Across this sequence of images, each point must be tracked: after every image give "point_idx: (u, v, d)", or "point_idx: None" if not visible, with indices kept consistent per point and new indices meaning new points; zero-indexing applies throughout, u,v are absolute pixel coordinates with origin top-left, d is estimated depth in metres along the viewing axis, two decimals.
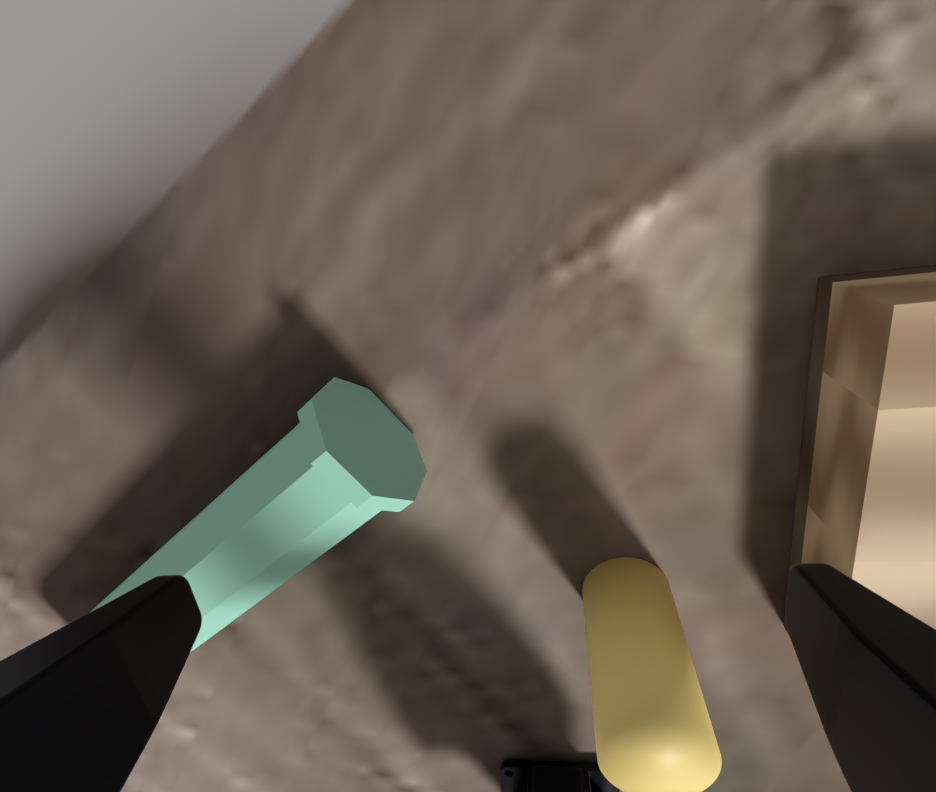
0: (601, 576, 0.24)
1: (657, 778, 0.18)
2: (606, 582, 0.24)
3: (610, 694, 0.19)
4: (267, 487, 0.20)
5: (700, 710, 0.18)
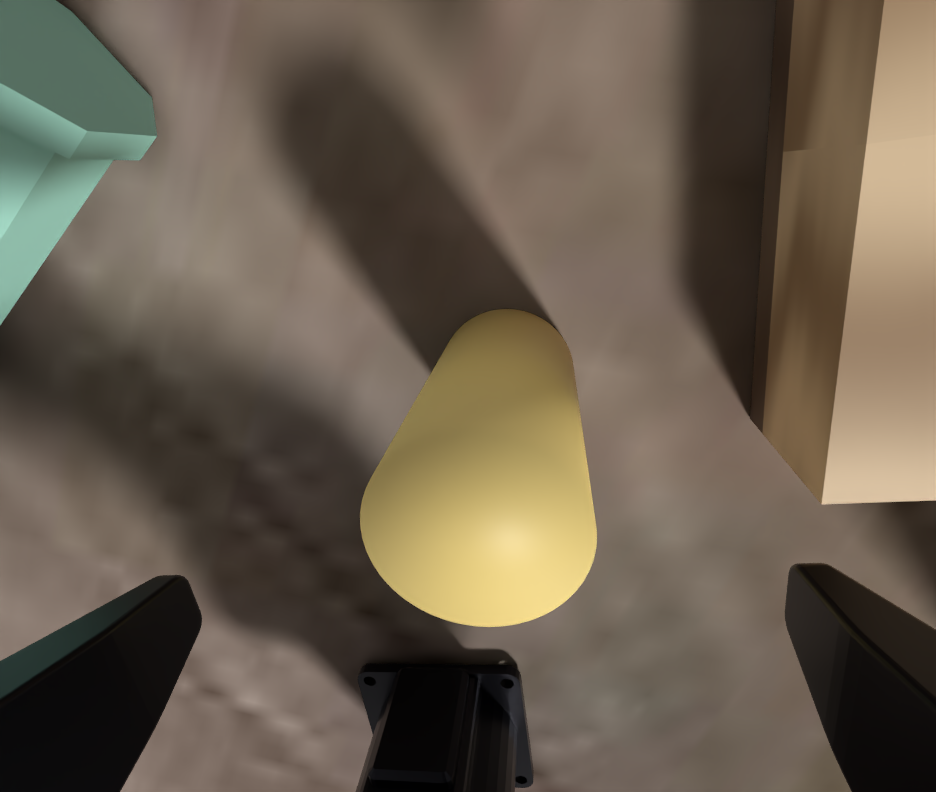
0: (459, 332, 0.15)
1: (479, 577, 0.09)
2: (462, 333, 0.15)
3: (401, 429, 0.10)
4: None
5: (561, 438, 0.09)
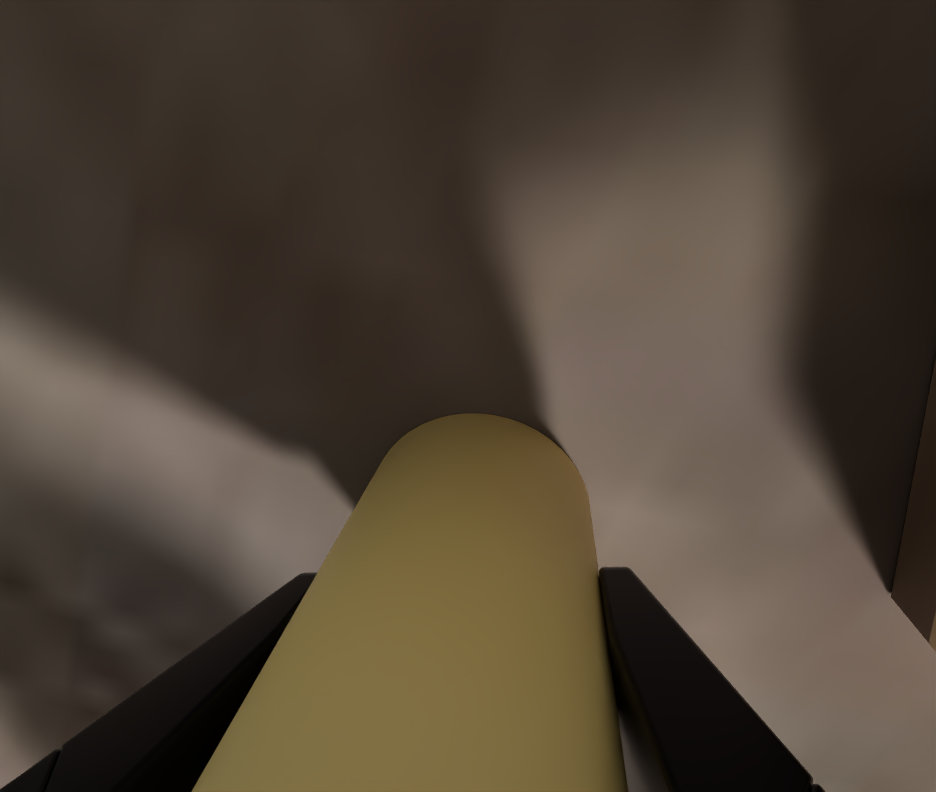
0: (390, 459, 0.09)
1: None
2: (392, 470, 0.08)
3: None
4: None
5: None
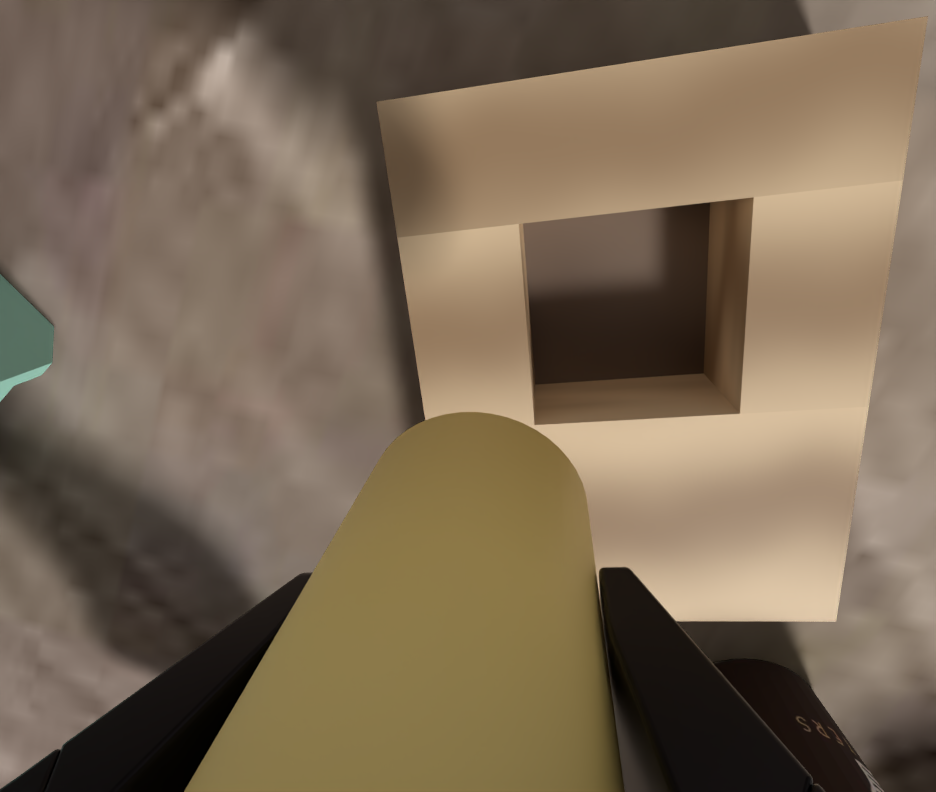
0: (387, 458, 0.09)
1: None
2: (389, 468, 0.08)
3: None
4: None
5: None
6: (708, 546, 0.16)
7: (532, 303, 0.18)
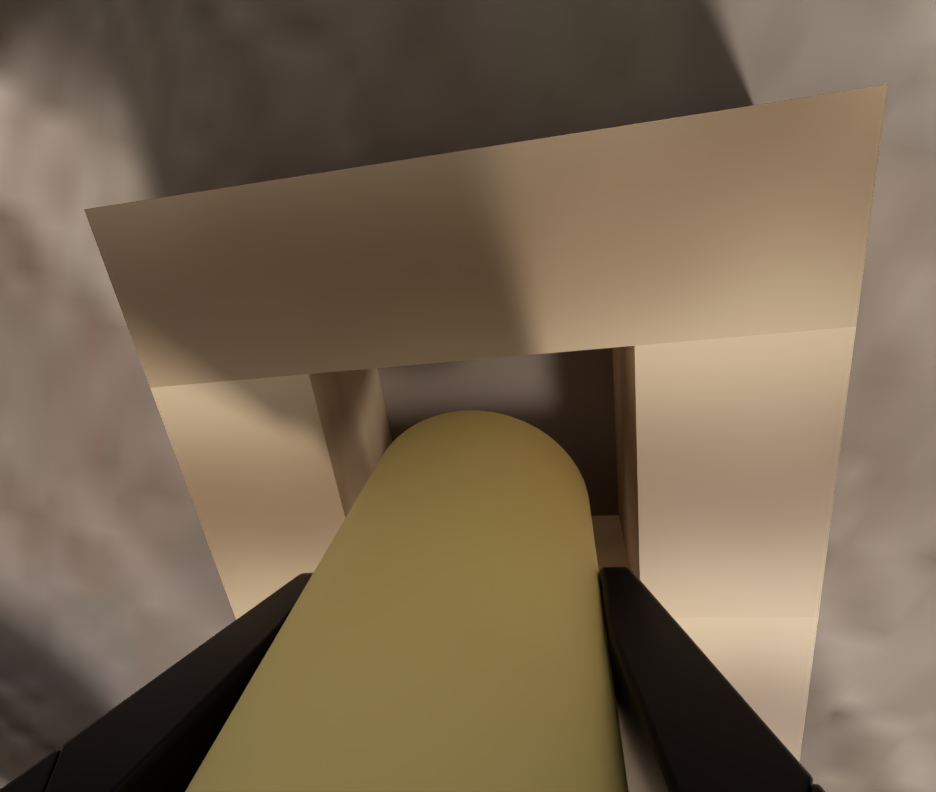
0: (389, 457, 0.09)
1: None
2: (390, 467, 0.08)
3: None
4: None
5: None
6: None
7: (394, 428, 0.14)
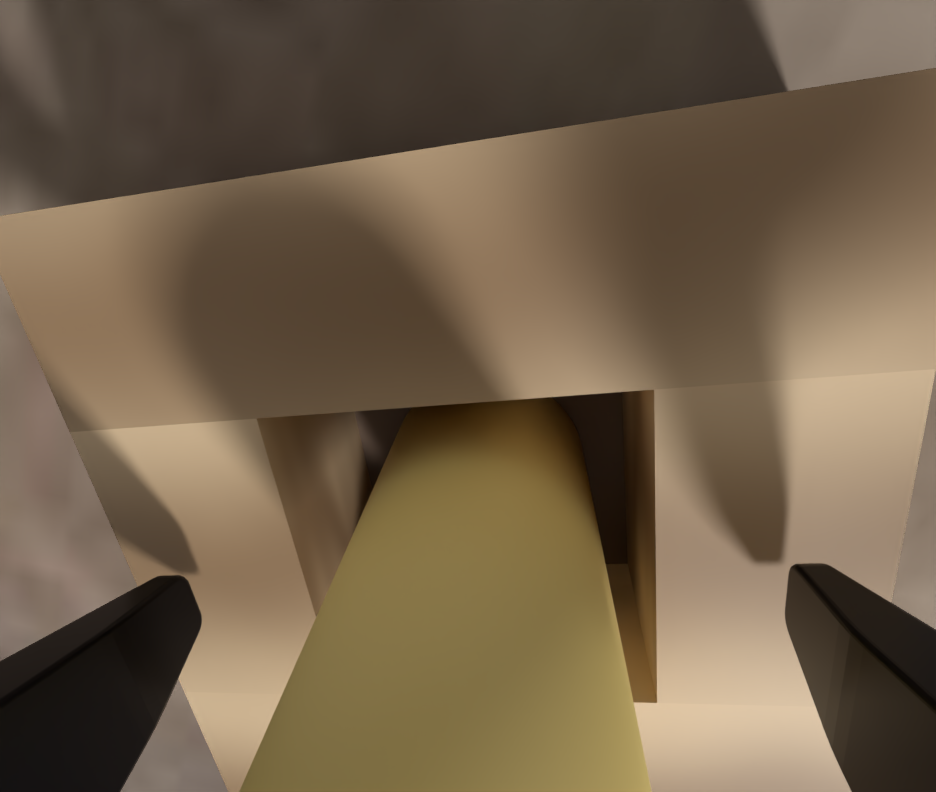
0: (416, 414, 0.10)
1: None
2: (419, 422, 0.10)
3: (283, 712, 0.05)
4: None
5: (606, 770, 0.04)
6: None
7: (371, 465, 0.12)
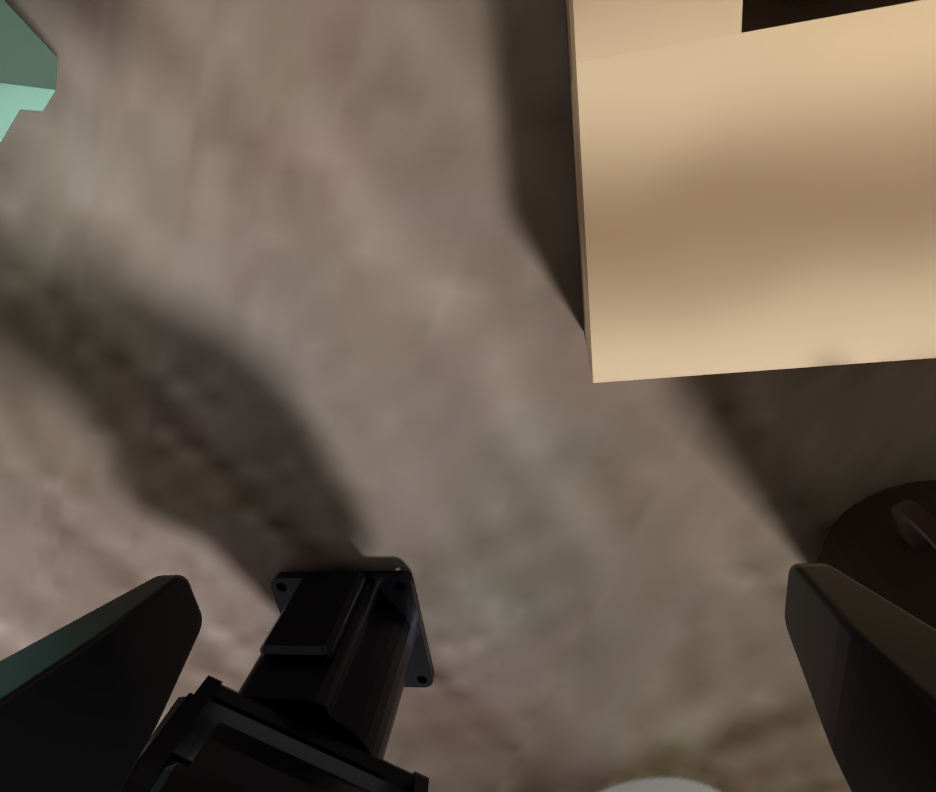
0: None
1: None
2: None
3: None
4: None
5: None
6: None
7: None
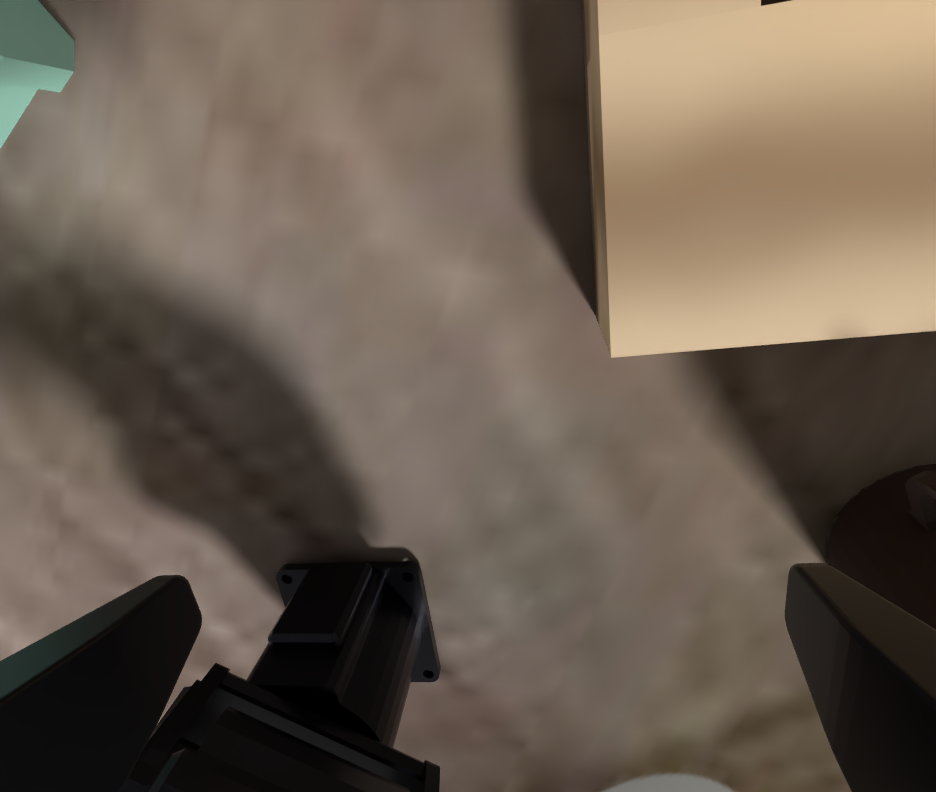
0: None
1: None
2: None
3: None
4: None
5: None
6: None
7: None
